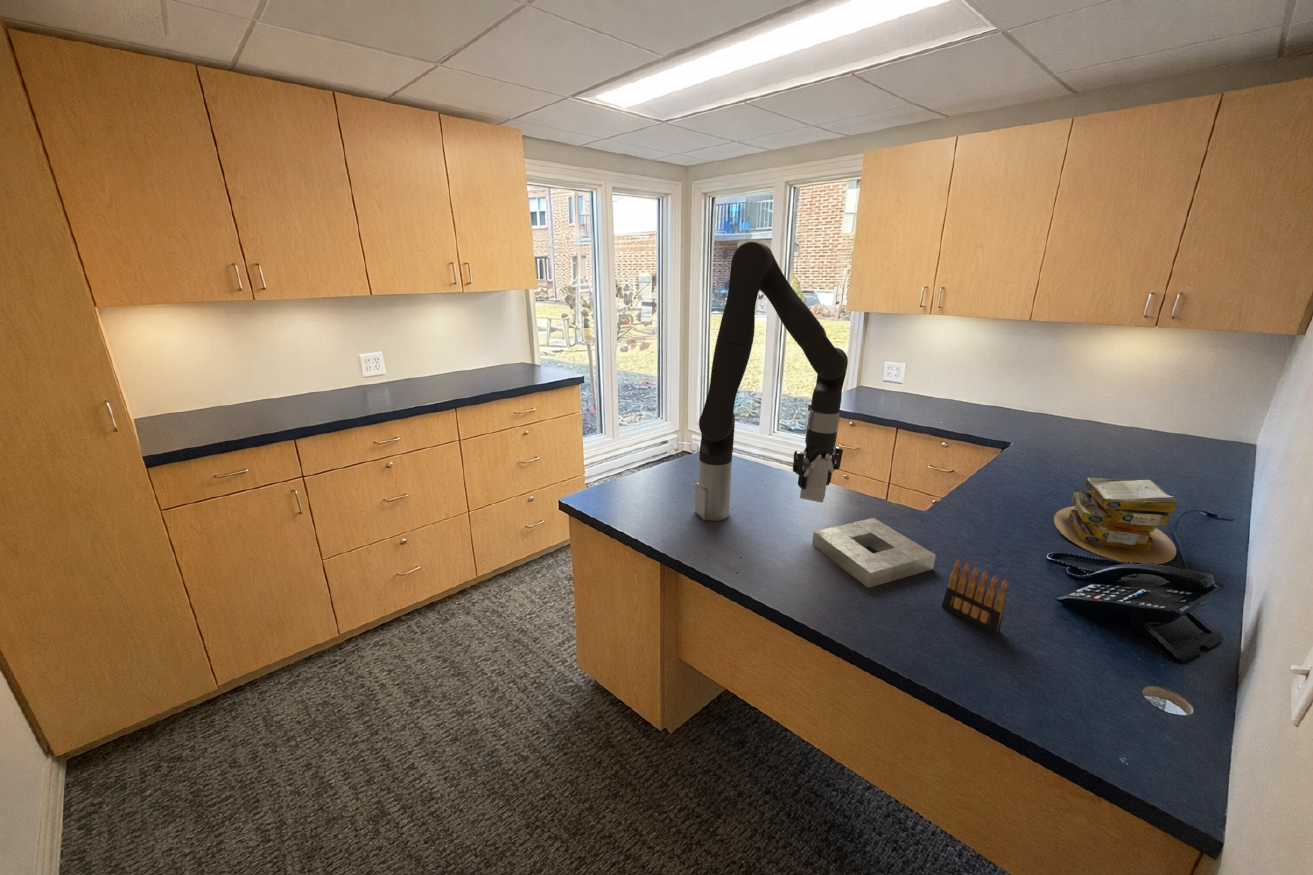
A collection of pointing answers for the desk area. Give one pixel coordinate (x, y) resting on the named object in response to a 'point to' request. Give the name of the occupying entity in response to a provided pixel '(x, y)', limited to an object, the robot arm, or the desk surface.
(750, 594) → the desk surface
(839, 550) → the frame
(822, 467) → the skincare box
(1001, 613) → the ammunition clip
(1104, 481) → the stacked yellow boxes
